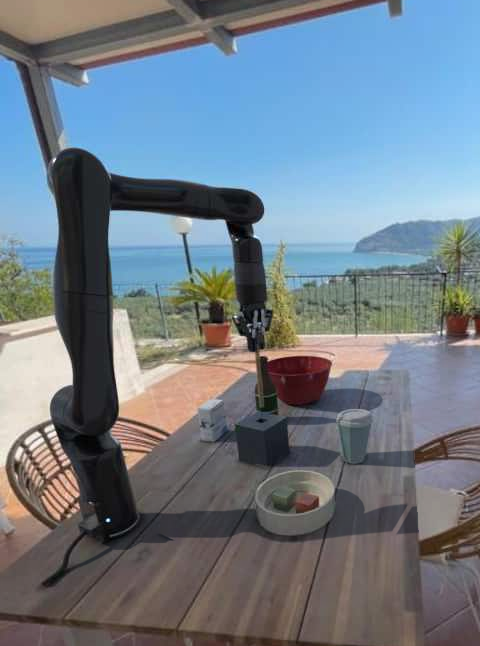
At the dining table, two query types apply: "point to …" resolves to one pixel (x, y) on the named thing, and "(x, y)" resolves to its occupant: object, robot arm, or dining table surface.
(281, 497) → the sage block
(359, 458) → the disposable coffee cup
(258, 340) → the stirring stick
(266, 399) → the beer bottle
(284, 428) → the stick stand
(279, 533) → the bowl
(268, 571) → the dining table surface
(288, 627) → the dining table surface
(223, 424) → the ink box
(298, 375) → the mixing bowl
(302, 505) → the terracotta block
